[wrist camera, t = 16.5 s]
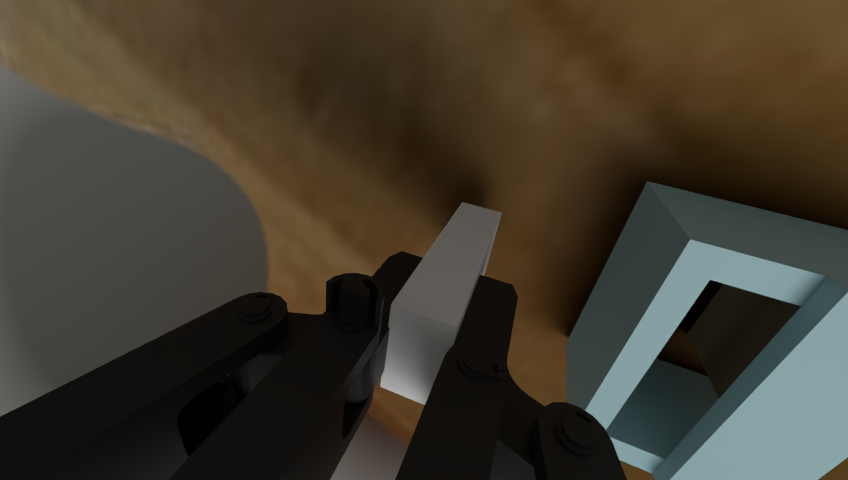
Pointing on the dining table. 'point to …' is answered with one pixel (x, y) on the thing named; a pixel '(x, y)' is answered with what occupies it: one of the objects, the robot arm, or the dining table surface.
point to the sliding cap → (692, 392)
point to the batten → (736, 332)
